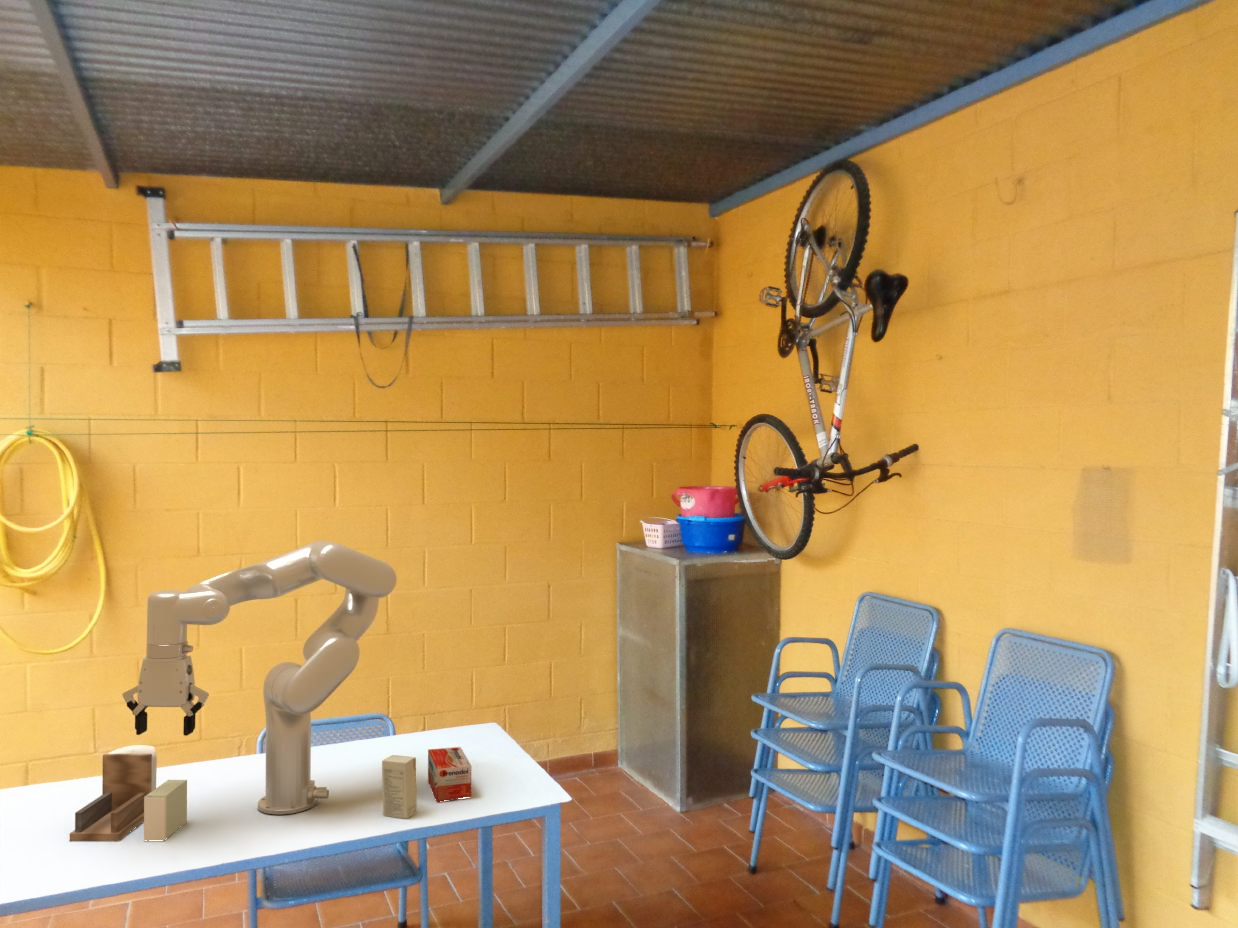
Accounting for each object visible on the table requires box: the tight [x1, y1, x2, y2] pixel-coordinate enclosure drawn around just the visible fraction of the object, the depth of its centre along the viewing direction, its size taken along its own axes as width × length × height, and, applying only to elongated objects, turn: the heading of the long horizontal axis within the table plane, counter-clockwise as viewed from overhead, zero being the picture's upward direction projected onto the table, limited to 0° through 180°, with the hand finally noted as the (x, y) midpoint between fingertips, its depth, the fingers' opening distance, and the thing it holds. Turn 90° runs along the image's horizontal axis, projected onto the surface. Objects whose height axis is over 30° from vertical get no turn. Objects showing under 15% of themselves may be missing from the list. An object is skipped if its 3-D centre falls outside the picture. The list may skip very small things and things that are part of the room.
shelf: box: [69, 753, 152, 842], centre depth 193 cm, size 10×13×14 cm
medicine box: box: [427, 746, 472, 803], centre depth 217 cm, size 15×8×8 cm, turn 20°
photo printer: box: [107, 744, 158, 791], centre depth 209 cm, size 10×4×12 cm, turn 123°
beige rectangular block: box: [143, 779, 188, 842], centre depth 192 cm, size 4×10×9 cm, turn 1°
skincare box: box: [381, 754, 418, 819], centre depth 202 cm, size 6×4×12 cm
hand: (165, 733), depth 192 cm, fingers open, 9 cm apart
